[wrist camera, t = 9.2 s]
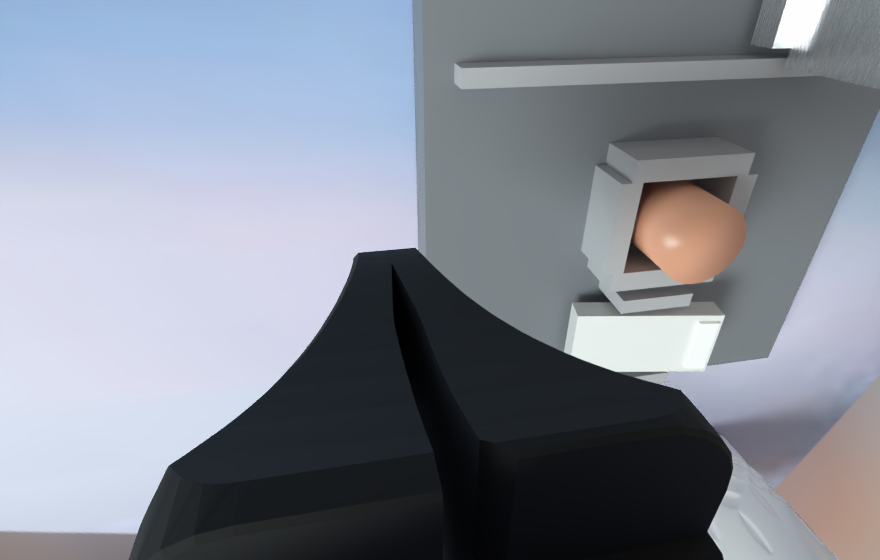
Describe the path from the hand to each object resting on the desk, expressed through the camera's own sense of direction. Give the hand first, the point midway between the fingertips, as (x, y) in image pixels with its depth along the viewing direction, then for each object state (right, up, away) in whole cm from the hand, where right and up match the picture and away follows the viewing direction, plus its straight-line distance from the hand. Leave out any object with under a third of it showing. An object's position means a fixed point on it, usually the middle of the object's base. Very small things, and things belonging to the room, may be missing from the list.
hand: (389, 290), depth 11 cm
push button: (+10, +3, +9) cm, 13 cm away
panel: (+9, +4, +11) cm, 15 cm away
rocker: (+10, -2, +11) cm, 15 cm away
